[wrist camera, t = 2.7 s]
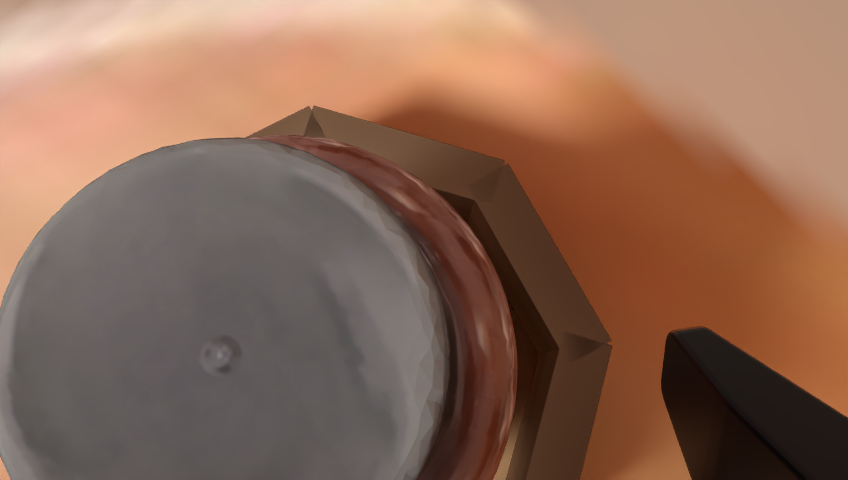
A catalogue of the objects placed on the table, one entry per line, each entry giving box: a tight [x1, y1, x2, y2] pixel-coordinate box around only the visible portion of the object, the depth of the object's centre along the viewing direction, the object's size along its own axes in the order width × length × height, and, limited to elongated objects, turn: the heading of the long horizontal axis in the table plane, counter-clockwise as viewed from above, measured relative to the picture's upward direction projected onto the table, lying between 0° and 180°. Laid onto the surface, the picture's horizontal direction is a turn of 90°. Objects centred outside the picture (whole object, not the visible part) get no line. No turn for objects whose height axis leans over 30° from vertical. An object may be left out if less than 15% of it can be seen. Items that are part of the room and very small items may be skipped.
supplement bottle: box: [0, 135, 518, 480], centre depth 12 cm, size 6×6×11 cm
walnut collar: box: [246, 106, 612, 480], centre depth 16 cm, size 10×10×2 cm
